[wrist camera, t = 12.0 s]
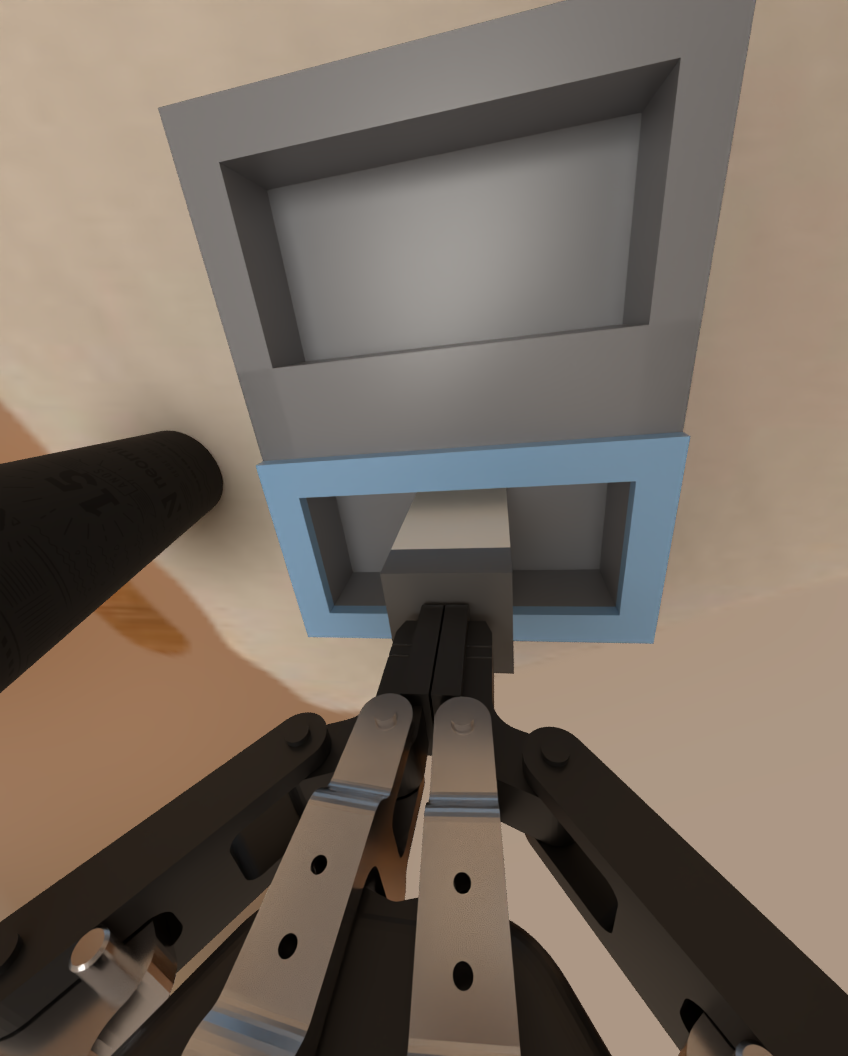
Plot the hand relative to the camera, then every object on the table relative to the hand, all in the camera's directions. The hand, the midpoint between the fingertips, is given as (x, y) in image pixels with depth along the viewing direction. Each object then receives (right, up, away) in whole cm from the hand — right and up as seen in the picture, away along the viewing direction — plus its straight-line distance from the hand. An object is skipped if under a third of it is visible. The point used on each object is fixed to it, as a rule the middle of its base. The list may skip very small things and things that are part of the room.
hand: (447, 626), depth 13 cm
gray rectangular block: (+1, +4, +7) cm, 8 cm away
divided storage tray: (+1, +9, +5) cm, 11 cm away
